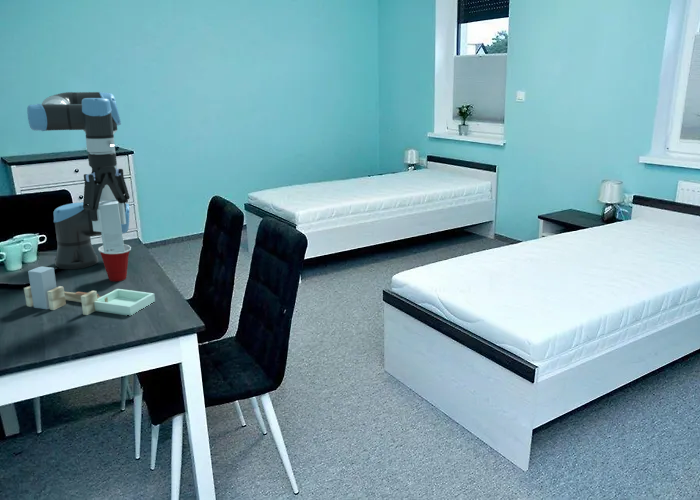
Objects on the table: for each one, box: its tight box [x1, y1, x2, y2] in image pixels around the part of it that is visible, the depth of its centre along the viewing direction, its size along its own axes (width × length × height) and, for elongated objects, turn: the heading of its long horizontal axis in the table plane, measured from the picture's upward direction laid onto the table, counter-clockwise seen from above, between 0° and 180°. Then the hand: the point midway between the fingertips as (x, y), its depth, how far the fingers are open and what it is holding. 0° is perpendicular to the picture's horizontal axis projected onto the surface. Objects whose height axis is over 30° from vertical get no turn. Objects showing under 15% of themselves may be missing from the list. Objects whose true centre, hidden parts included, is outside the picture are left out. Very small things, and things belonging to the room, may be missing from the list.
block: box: [27, 266, 58, 310], centre depth 174 cm, size 5×5×12 cm
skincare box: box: [98, 200, 125, 254], centre depth 168 cm, size 8×6×15 cm
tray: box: [94, 288, 156, 317], centre depth 176 cm, size 12×14×3 cm
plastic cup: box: [97, 243, 132, 282], centre depth 199 cm, size 11×11×12 cm
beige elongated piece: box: [23, 285, 108, 316], centre depth 175 cm, size 9×24×6 cm, turn 73°
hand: (110, 227), depth 168 cm, fingers closed on skincare box, 9 cm apart
